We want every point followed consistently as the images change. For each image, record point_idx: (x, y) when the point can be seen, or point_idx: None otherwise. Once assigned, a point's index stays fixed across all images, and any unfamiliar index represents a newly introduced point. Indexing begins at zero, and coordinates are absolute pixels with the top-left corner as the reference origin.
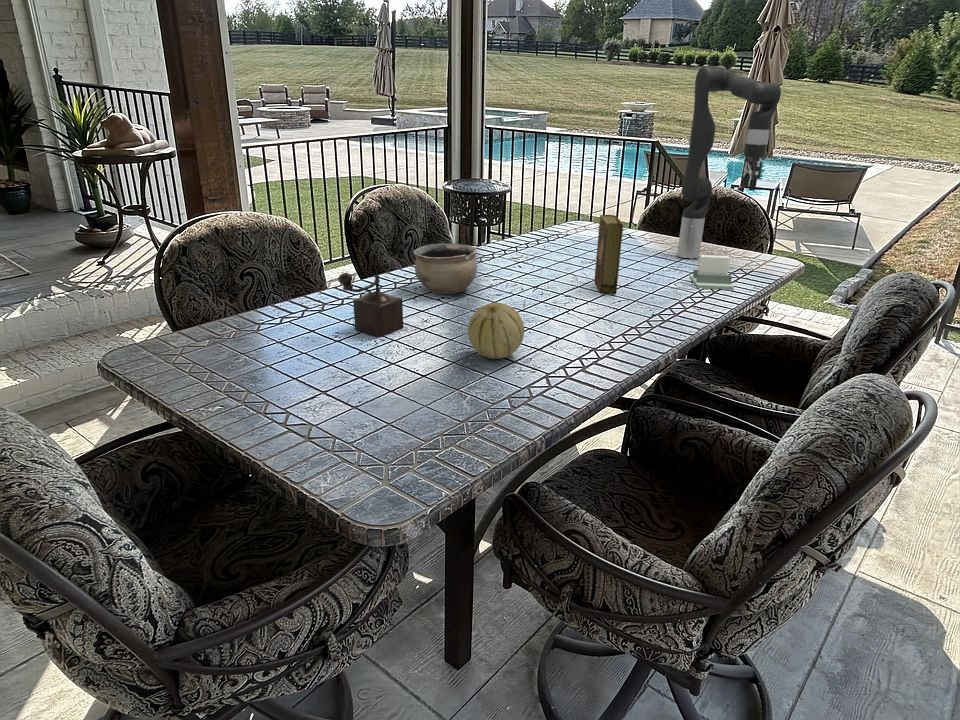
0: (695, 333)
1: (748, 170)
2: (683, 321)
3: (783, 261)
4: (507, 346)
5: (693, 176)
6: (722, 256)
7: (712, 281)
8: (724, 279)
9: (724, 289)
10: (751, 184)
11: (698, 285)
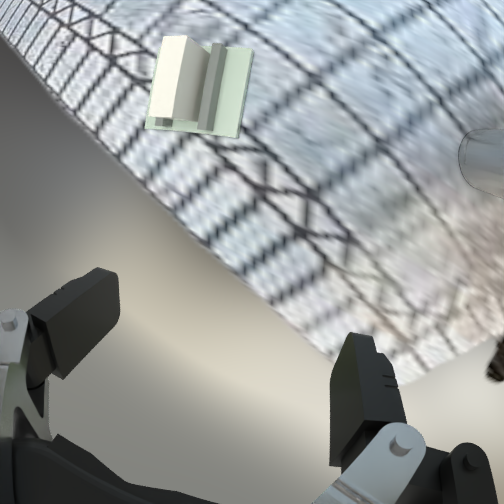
0: (10, 42)
1: (146, 498)
2: (34, 26)
3: (396, 373)
4: None
5: None
6: (168, 98)
7: None
8: None
9: None
10: (54, 295)
11: (159, 49)
